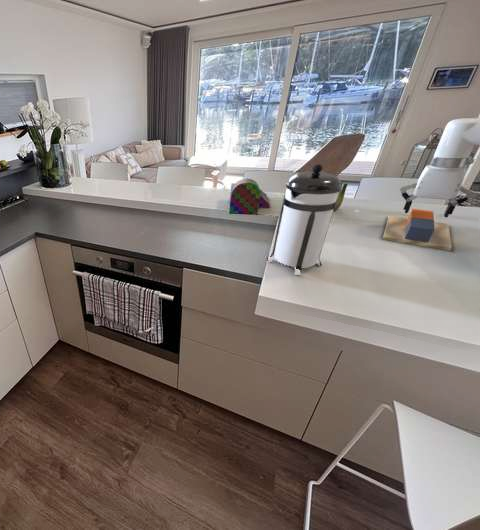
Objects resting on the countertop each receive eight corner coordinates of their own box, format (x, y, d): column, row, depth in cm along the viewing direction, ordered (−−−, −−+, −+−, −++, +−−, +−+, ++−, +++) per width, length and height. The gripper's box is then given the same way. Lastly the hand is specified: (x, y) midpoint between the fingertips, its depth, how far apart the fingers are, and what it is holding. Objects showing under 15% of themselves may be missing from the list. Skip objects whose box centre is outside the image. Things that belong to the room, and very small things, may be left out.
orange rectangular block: (427, 223, 102) (433, 211, 100) (427, 232, 97) (433, 219, 95) (406, 220, 106) (412, 208, 103) (405, 228, 100) (411, 216, 98)
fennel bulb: (341, 210, 121) (350, 182, 115) (331, 212, 120) (339, 183, 114) (329, 206, 126) (337, 178, 120) (320, 208, 125) (327, 180, 119)
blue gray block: (427, 232, 96) (434, 220, 94) (427, 242, 91) (434, 229, 89) (405, 229, 100) (411, 217, 98) (404, 238, 94) (410, 226, 92)
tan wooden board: (447, 226, 101) (448, 223, 101) (450, 250, 88) (451, 247, 87) (388, 218, 111) (389, 215, 110) (382, 239, 97) (383, 236, 97)
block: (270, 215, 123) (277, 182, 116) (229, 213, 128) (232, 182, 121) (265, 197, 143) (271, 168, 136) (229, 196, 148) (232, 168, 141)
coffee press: (330, 280, 80) (367, 171, 65) (266, 272, 86) (287, 170, 71) (320, 252, 94) (349, 156, 78) (266, 247, 100) (283, 156, 84)
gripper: (488, 160, 87) (461, 214, 95) (410, 159, 98) (392, 207, 106) (492, 166, 82) (463, 221, 91) (410, 163, 93) (391, 213, 102)
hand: (425, 213), depth 99 cm, fingers open, 9 cm apart
